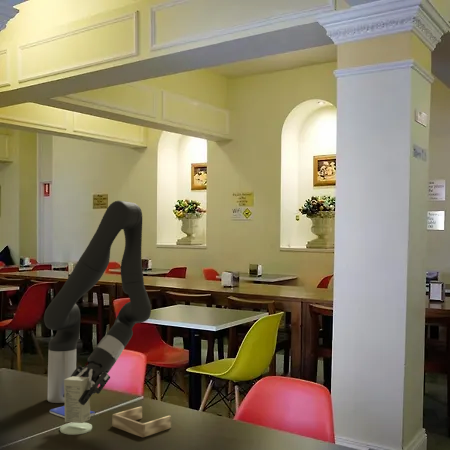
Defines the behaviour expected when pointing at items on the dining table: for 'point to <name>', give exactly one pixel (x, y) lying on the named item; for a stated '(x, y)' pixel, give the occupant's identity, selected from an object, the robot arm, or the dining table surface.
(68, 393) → the skincare box
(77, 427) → the pale green round disc
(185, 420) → the dining table surface
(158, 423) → the holder
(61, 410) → the hard drive
